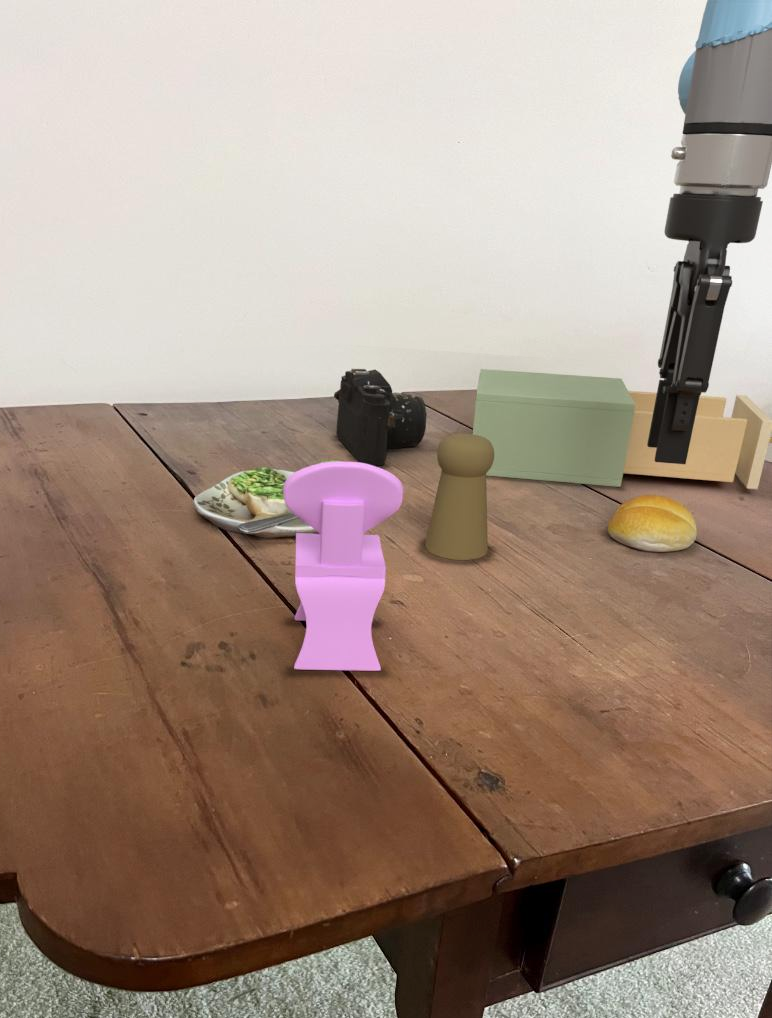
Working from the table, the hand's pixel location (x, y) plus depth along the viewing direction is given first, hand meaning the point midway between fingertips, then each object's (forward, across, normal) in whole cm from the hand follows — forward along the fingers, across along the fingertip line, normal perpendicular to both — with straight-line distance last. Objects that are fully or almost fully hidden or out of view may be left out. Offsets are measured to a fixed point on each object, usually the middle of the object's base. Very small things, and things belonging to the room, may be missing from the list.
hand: (665, 453), depth 89 cm
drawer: (+8, -24, +9) cm, 27 cm away
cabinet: (+9, -24, -10) cm, 27 cm away
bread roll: (+9, 0, 0) cm, 9 cm away
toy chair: (+9, +30, -27) cm, 41 cm away
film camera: (+9, -25, -31) cm, 41 cm away
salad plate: (+9, +2, -37) cm, 38 cm away
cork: (+9, +8, -19) cm, 22 cm away
